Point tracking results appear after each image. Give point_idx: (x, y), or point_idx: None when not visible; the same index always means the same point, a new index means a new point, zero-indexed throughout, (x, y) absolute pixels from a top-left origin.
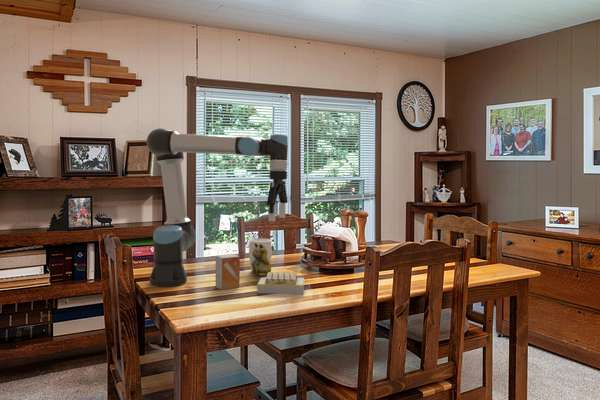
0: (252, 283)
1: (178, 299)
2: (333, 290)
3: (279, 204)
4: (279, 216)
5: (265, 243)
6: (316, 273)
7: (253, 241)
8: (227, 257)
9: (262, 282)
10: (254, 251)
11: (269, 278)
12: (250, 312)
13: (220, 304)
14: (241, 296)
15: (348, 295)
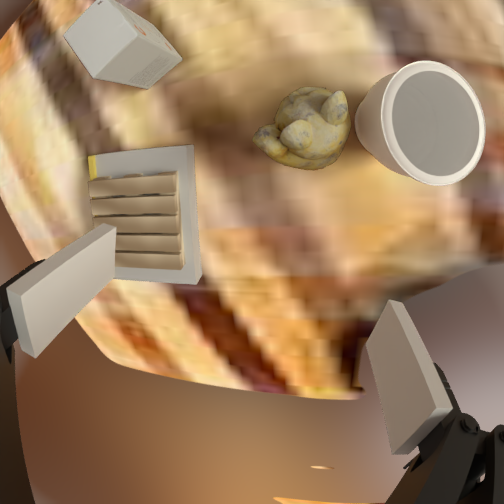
0: (203, 115)
1: (55, 8)
2: (166, 337)
3: (428, 396)
4: (388, 310)
5: (388, 150)
6: (356, 311)
7: (389, 82)
8: (73, 45)
9: (122, 163)
10: (291, 96)
11: (93, 192)
12: (4, 175)
13: (28, 102)
14: (74, 123)
15: (137, 356)
